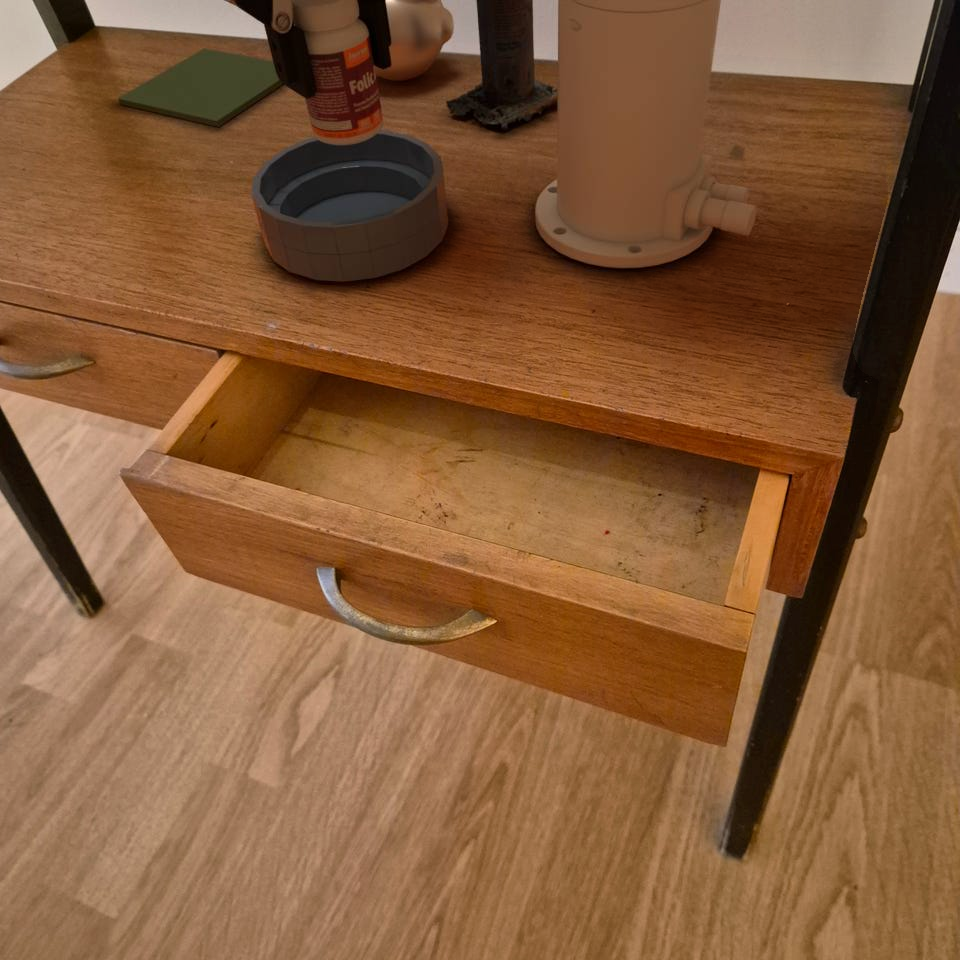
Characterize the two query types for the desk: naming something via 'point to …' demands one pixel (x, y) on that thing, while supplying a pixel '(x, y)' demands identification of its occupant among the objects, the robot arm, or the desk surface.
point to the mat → (206, 87)
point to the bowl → (351, 206)
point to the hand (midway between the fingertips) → (338, 73)
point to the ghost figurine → (415, 36)
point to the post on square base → (505, 67)
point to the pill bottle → (340, 71)
